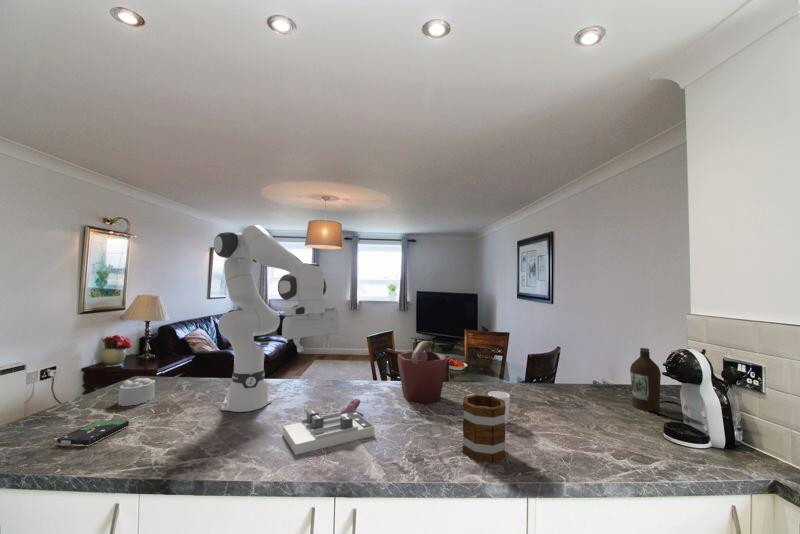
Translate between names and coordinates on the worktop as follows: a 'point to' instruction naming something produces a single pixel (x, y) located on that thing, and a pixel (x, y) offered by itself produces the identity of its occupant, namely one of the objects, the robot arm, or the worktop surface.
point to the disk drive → (93, 432)
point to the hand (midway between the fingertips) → (313, 349)
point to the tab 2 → (346, 422)
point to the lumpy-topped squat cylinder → (136, 391)
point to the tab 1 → (310, 414)
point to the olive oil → (645, 382)
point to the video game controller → (351, 406)
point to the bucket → (422, 374)
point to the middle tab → (317, 421)
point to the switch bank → (326, 433)
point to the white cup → (504, 397)
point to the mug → (484, 428)
